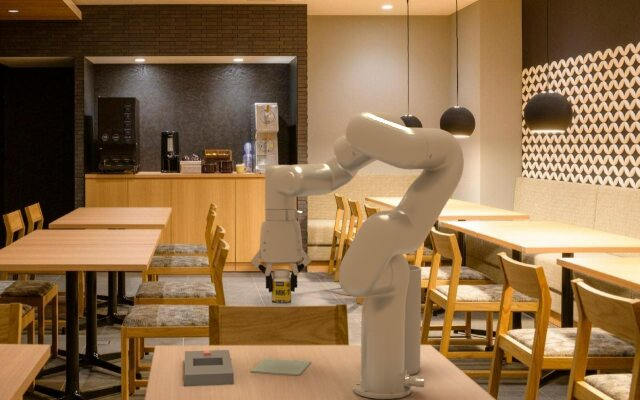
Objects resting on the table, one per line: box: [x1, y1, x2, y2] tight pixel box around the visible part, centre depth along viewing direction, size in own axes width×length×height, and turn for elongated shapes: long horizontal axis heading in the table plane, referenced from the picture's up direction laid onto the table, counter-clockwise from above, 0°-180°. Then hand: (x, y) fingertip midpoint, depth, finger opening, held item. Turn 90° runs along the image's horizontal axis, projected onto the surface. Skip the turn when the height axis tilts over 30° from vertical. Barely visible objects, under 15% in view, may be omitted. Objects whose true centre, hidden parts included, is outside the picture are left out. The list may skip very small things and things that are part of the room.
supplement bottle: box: [271, 268, 292, 307], centre depth 205 cm, size 5×5×8 cm
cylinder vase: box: [404, 264, 422, 376], centre depth 203 cm, size 12×12×25 cm
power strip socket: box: [184, 349, 235, 387], centre depth 202 cm, size 22×11×3 cm, turn 9°
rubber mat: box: [250, 358, 312, 377], centre depth 206 cm, size 12×12×1 cm
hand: (281, 290), depth 205 cm, fingers closed on supplement bottle, 4 cm apart
